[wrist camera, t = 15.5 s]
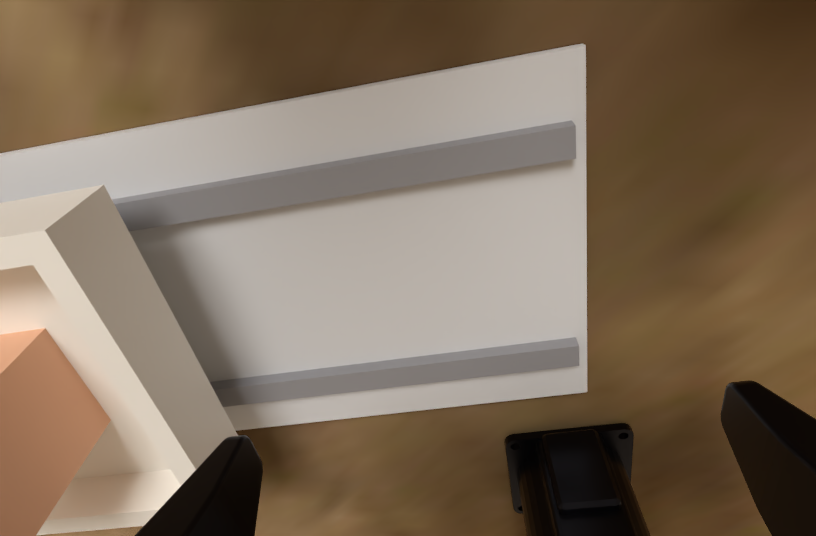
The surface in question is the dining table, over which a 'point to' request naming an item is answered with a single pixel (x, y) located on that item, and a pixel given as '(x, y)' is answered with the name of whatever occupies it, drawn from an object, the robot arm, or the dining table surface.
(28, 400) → the block
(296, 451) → the dining table surface
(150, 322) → the cream rimmed tray
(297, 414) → the track
